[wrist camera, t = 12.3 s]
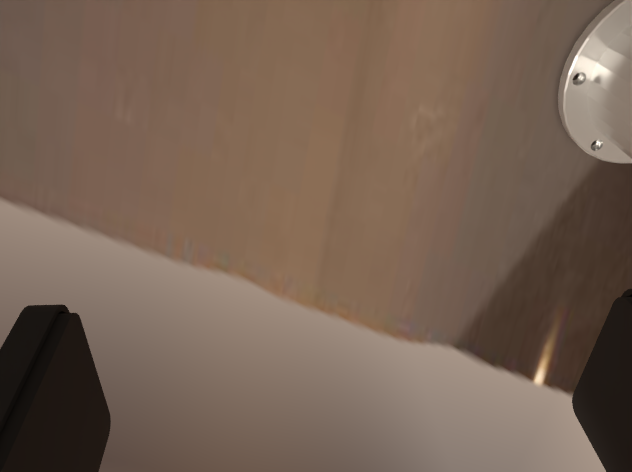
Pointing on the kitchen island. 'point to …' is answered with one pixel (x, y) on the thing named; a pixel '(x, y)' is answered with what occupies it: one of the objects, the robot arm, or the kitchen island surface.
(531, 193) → the kitchen island surface
